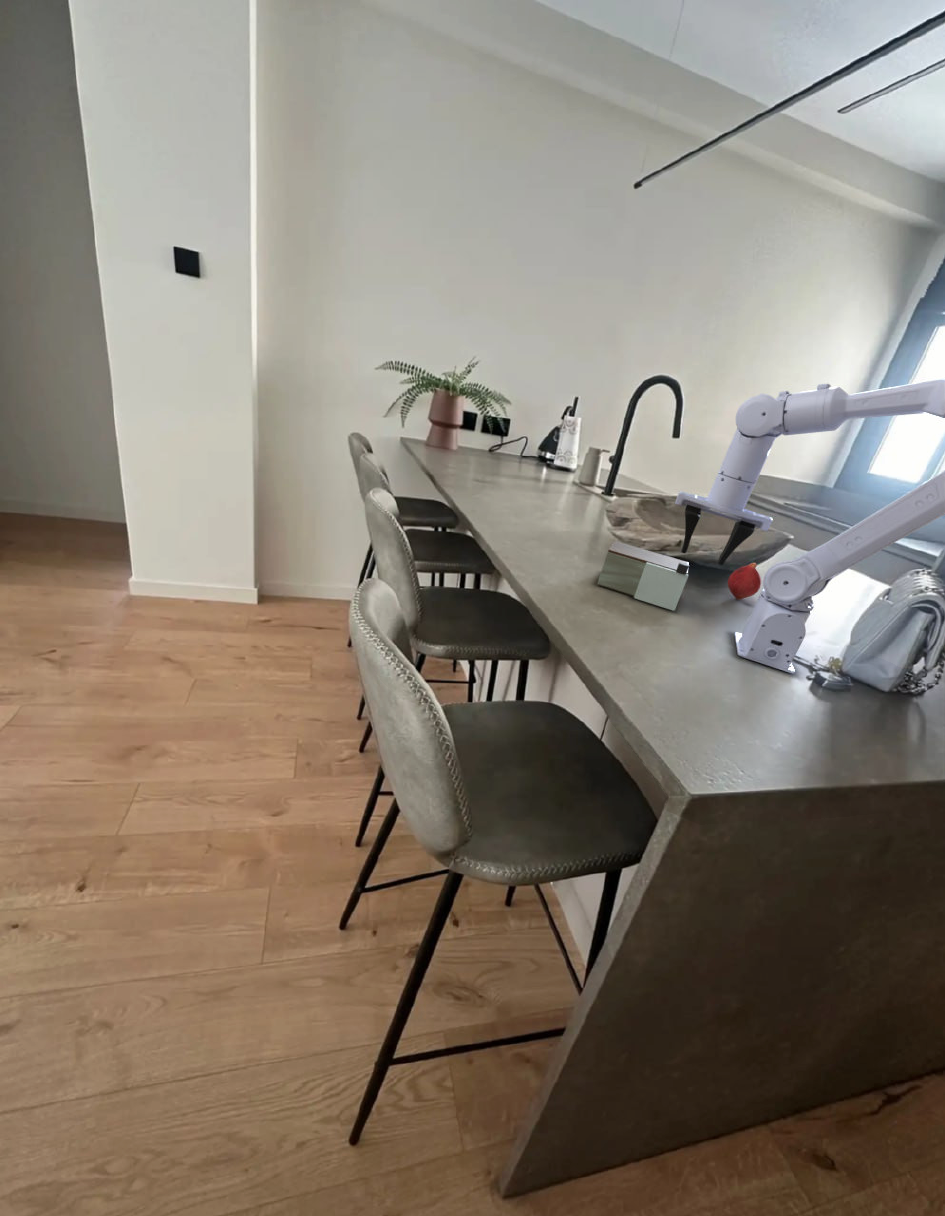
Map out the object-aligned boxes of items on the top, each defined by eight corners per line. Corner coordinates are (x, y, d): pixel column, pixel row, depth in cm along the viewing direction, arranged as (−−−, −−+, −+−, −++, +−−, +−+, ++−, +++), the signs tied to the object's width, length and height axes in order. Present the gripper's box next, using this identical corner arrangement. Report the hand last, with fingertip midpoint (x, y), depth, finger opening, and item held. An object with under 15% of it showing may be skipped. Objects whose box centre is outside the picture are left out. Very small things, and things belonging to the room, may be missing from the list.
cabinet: (673, 610, 93) (687, 574, 90) (596, 585, 97) (608, 550, 94) (675, 596, 100) (688, 562, 97) (603, 574, 104) (614, 540, 101)
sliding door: (674, 611, 92) (691, 567, 88) (633, 598, 94) (649, 554, 90) (674, 609, 93) (692, 565, 89) (634, 596, 95) (649, 553, 91)
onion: (724, 599, 105) (740, 562, 101) (720, 590, 110) (735, 554, 107) (754, 608, 104) (772, 570, 100) (749, 598, 109) (765, 562, 105)
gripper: (781, 487, 84) (744, 565, 90) (690, 462, 88) (660, 538, 93) (788, 493, 78) (747, 576, 84) (689, 466, 82) (657, 547, 87)
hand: (701, 557), depth 88 cm, fingers open, 5 cm apart
